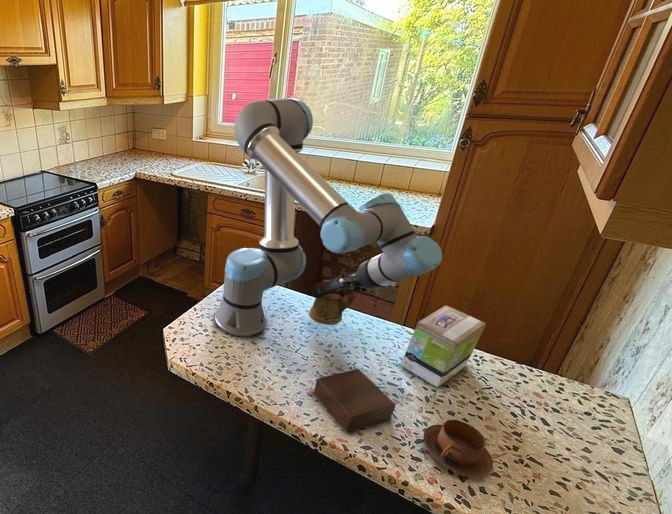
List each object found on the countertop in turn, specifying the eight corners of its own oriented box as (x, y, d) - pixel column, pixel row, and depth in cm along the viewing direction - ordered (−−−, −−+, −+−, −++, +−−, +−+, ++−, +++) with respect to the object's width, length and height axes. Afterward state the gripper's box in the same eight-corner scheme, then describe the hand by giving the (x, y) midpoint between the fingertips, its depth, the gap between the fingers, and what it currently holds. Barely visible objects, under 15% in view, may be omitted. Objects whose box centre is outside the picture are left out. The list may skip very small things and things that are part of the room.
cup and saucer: (484, 494, 76) (497, 473, 73) (414, 455, 83) (423, 435, 81) (493, 453, 84) (504, 433, 81) (428, 421, 91) (437, 401, 88)
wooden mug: (348, 336, 112) (364, 281, 104) (303, 316, 121) (315, 264, 112) (360, 323, 118) (376, 269, 110) (316, 304, 126) (328, 254, 118)
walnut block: (313, 393, 99) (317, 378, 96) (353, 383, 102) (358, 368, 99) (346, 432, 88) (351, 416, 86) (390, 420, 92) (396, 404, 89)
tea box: (438, 389, 100) (459, 342, 93) (399, 365, 108) (415, 321, 101) (466, 366, 107) (487, 322, 100) (428, 346, 115) (444, 303, 108)
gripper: (344, 290, 94) (299, 308, 116) (423, 282, 98) (366, 300, 119) (336, 260, 96) (294, 283, 118) (414, 253, 100) (359, 276, 121)
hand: (330, 292), depth 118 cm, fingers closed on wooden mug, 9 cm apart
